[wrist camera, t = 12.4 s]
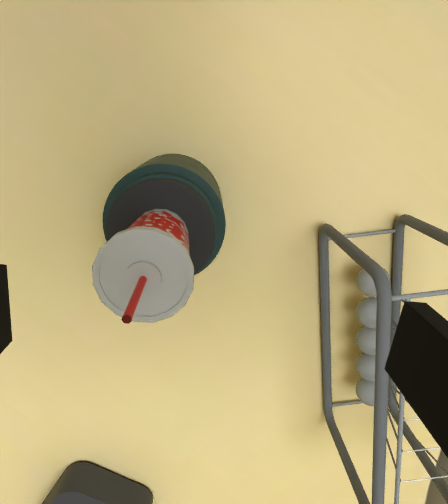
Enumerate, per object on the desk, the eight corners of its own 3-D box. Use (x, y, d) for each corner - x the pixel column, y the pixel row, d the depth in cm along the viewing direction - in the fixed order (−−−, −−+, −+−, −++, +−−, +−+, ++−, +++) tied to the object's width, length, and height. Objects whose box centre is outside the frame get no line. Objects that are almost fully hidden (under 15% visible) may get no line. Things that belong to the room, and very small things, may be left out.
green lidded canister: (149, 136, 42) (123, 142, 29) (237, 180, 44) (250, 205, 31) (113, 222, 45) (73, 264, 32) (196, 260, 47) (192, 314, 34)
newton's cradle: (317, 220, 46) (381, 276, 29) (402, 209, 46) (515, 260, 29) (323, 416, 56) (373, 543, 39) (393, 407, 56) (474, 530, 39)
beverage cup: (202, 265, 32) (200, 364, 19) (131, 274, 32) (79, 380, 19) (191, 194, 30) (179, 250, 17) (115, 204, 30) (44, 268, 17)
